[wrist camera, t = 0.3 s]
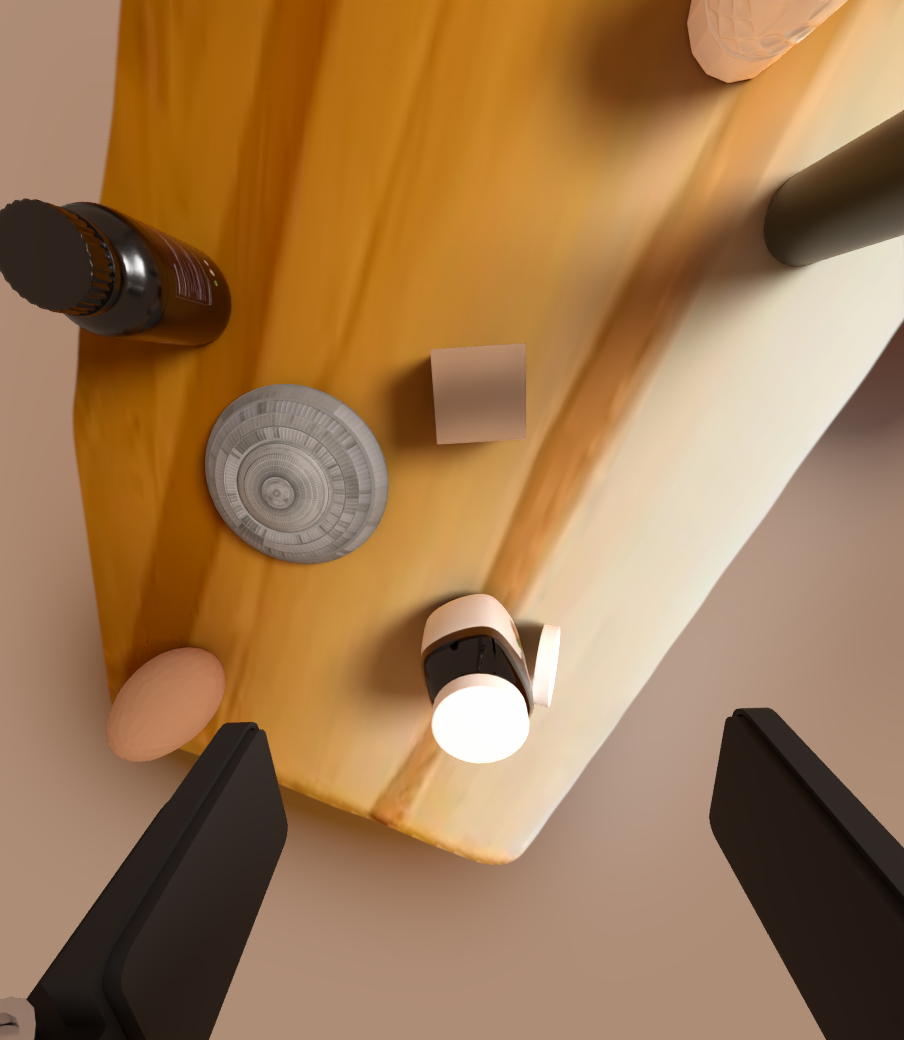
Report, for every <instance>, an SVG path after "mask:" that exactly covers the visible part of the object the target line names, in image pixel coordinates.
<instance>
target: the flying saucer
mask: <svg viewBox="0 0 904 1040" xmlns="http://www.w3.org/2000/svg"><path fill="white" fill-rule="evenodd" d="M205 473H206V480H207V485H208V489H209V492H210V495H211V498H212V500H213V502H214V504H215V506H216V508H217V510H218V512H219V514H220V515H221V517H222V518H223V520H224V521H225V522H226V524H227V525H228V526H229V527H230V528H231V529H232V531H233V532H234V533H235V534H236V535H237V536H239V537H240V538H241V539H242V540H243V541H245V542H246V543H247V544H249V545H250V546H251V547H253V548H255V549H256V550H258V551H260V552H262V553H264V554H266V555H268V556H271V557H273V558H276V559H279V560H283V561H287V562H292V563H301V564H315V563H324V562H328V561H332V560H336V559H338V558H341V557H343V556H345V555H347V554H349V553H351V552H353V551H354V550H356V549H357V548H358V547H360V546H361V545H362V544H363V543H364V542H365V541H366V540H367V539H368V538H369V537H370V536H371V535H372V534H373V532H374V531H375V529H376V528H377V526H378V524H379V523H380V521H381V518H382V516H383V514H384V511H385V507H386V503H387V498H388V487H389V486H388V472H387V467H386V462H385V459H384V456H383V453H382V450H381V448H380V446H379V444H378V442H377V440H376V438H375V436H374V435H373V433H372V432H371V430H370V429H369V427H368V426H367V425H366V423H365V422H364V421H363V420H362V419H361V418H360V417H359V416H358V415H357V414H356V413H355V412H354V411H353V410H352V409H351V408H349V407H348V406H347V405H346V404H344V403H343V402H341V401H340V400H338V399H336V398H335V397H333V396H331V395H329V394H327V393H325V392H322V391H320V390H317V389H314V388H310V387H306V386H301V385H293V384H279V385H271V386H266V387H262V388H258V389H255V390H253V391H251V392H248V393H246V394H244V395H243V396H241V397H240V398H238V399H237V400H235V401H234V402H233V403H232V404H231V405H229V406H228V407H227V408H226V409H225V411H224V412H223V413H222V414H221V416H220V417H219V418H218V420H217V421H216V423H215V425H214V427H213V429H212V431H211V434H210V437H209V440H208V444H207V449H206V455H205Z"/></svg>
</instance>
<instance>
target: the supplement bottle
mask: <svg viewBox="0 0 904 1040" xmlns="http://www.w3.org/2000/svg"><path fill="white" fill-rule="evenodd" d="M0 271H1V272H2V274H3V276H4V278H5V280H6V281H7V282H8V283H9V284H10V285H11V287H12V289H13V290H15V291H17V292H18V293H19V295H20V296H21V297H23V298H25V299H27V300H28V301H29V302H30V303H31V304H34V305H37V306H38V307H40V308H42V309H47V310H50V311H53V312H58V313H64V314H65V315H66V316H67V317H68V318H69V319H70V320H72V321H73V322H74V323H76V324H77V325H79V326H80V327H82V328H84V329H85V330H87V331H89V332H92V333H94V334H96V335H100V336H103V337H107V338H113V339H121V340H131V341H142V342H152V343H163V344H174V345H186V346H197V345H203V344H206V343H209V342H211V341H213V340H214V339H216V338H217V337H218V336H219V335H220V334H221V333H222V332H223V331H224V329H225V328H226V326H227V324H228V321H229V318H230V314H231V295H230V291H229V287H228V284H227V282H226V280H225V278H224V276H223V274H222V272H221V271H220V269H219V268H218V267H217V265H216V264H215V263H214V262H213V261H212V260H211V259H210V258H209V257H208V256H207V255H206V254H204V253H203V252H201V251H200V250H198V249H196V248H195V247H193V246H191V245H189V244H187V243H185V242H183V241H181V240H178V239H176V238H174V237H172V236H170V235H168V234H166V233H164V232H162V231H160V230H157V229H155V228H153V227H151V226H149V225H147V224H145V223H143V222H141V221H138V220H136V219H134V218H132V217H130V216H128V215H126V214H124V213H122V212H119V211H117V210H115V209H112V208H110V207H107V206H104V205H102V204H97V203H92V202H76V203H70V204H66V205H64V206H62V207H59V206H55V205H52V204H50V203H45V202H42V201H40V200H36V199H35V200H30V199H23V200H21V201H20V200H15V201H14V202H13V203H12V204H7V205H6V207H5V208H4V209H1V210H0Z"/></svg>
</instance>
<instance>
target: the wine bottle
mask: <svg viewBox="0 0 904 1040" xmlns="http://www.w3.org/2000/svg"><path fill="white" fill-rule="evenodd" d="M901 235H904V110H903V111H902V112H900V113H898V114H897V115H895V116H893V117H891V118H890V119H888V120H886V121H885V122H883V123H881V124H880V125H878V126H876V127H875V128H873V129H871V130H870V131H868V132H866V133H865V134H863V135H861V136H860V137H858V138H856V139H855V140H853V141H851V142H849V143H848V144H846V145H844V146H843V147H841V148H839V149H838V150H836V151H834V152H833V153H831V154H829V155H828V156H826V157H824V158H823V159H821V160H819V161H818V162H816V163H814V164H813V165H811V166H809V167H807V168H806V169H804V170H802V171H801V172H799V173H797V174H796V175H794V176H793V177H792V178H790V179H789V180H788V181H787V182H786V183H785V184H784V185H783V186H782V187H781V188H780V189H779V191H778V192H777V193H776V195H775V197H774V198H773V200H772V202H771V204H770V206H769V209H768V212H767V215H766V220H765V239H766V243H767V246H768V248H769V250H770V252H771V253H772V254H773V256H774V257H775V258H776V259H778V260H779V261H781V262H782V263H785V264H787V265H792V266H803V265H808V264H812V263H815V262H818V261H821V260H824V259H828V258H831V257H834V256H837V255H840V254H844V253H847V252H850V251H853V250H856V249H860V248H863V247H866V246H869V245H872V244H876V243H879V242H882V241H885V240H888V239H892V238H895V237H898V236H901Z"/></svg>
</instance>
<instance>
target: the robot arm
mask: <svg viewBox="0 0 904 1040" xmlns="http://www.w3.org/2000/svg"><path fill="white" fill-rule="evenodd" d="M709 819H710V825H711V829H712V831H713V834H714V836H715V838H716V840H717V842H718V844H719V846H720V848H721V849H722V851H723V853H724V855H725V857H726V859H727V860H728V862H729V864H730V866H731V868H732V869H733V871H734V873H735V875H736V877H737V879H738V880H739V882H740V884H741V886H742V888H743V889H744V891H745V893H746V895H747V897H748V899H749V900H750V902H751V904H752V906H753V907H754V909H755V911H756V913H757V915H758V917H759V918H760V920H761V922H762V924H763V926H764V928H765V929H766V931H767V933H768V934H769V937H770V938H771V940H772V942H773V944H774V946H775V948H776V949H777V951H778V953H779V955H780V957H781V958H782V960H783V962H784V964H785V966H786V968H787V969H788V971H789V973H790V975H791V977H792V978H793V980H794V982H795V984H796V986H797V988H798V989H799V991H800V993H801V995H802V997H803V998H804V1000H805V1002H806V1004H807V1006H808V1008H809V1009H810V1011H811V1013H812V1015H813V1017H814V1018H815V1020H816V1022H817V1024H818V1026H819V1028H820V1029H821V1031H822V1033H823V1035H824V1037H825V1038H826V1040H904V848H903V847H902V846H901V845H900V844H899V842H898V841H897V840H896V839H895V838H894V837H893V836H892V835H891V834H890V833H889V832H888V831H887V830H886V829H885V828H884V826H883V825H881V823H880V822H879V821H878V820H877V819H876V818H875V817H874V816H873V815H872V814H871V813H870V812H869V811H868V809H866V807H865V806H864V805H863V804H862V803H861V802H860V801H859V800H858V799H857V798H856V797H855V796H854V795H853V794H852V793H851V791H850V790H849V789H848V788H847V787H846V786H845V785H844V784H843V783H842V782H841V781H840V780H839V779H838V778H837V777H836V776H835V775H834V774H833V773H832V771H831V770H830V769H829V768H828V767H827V766H826V765H825V764H824V763H823V762H822V761H821V760H820V759H819V758H818V757H817V755H816V754H815V753H814V752H813V751H812V750H811V749H810V748H809V747H808V746H807V745H806V744H805V743H804V742H803V741H802V740H801V738H800V737H799V736H798V735H797V734H796V733H795V732H794V731H793V730H792V729H791V728H790V727H789V726H788V725H787V724H786V722H785V721H784V720H783V719H782V718H781V717H780V716H779V715H778V714H777V713H776V712H775V711H773V710H772V709H770V708H741V709H736V710H735V711H734V712H733V715H732V717H728V718H727V719H726V721H725V726H724V732H723V738H722V744H721V749H720V755H719V762H718V767H717V773H716V778H715V784H714V790H713V796H712V802H711V808H710V815H709ZM287 827H288V824H287V819H286V815H285V810H284V806H283V802H282V798H281V794H280V790H279V786H278V781H277V777H276V773H275V769H274V765H273V761H272V757H271V753H270V749H269V744H268V740H267V736H266V733H265V731H264V730H259V728H258V725H257V724H256V723H255V722H240V723H226V724H224V725H223V726H222V727H221V728H220V729H219V730H218V732H217V733H216V735H215V736H214V737H213V739H212V740H211V742H210V743H209V745H208V746H207V747H206V749H205V750H204V752H203V753H202V754H201V756H200V758H199V759H198V760H197V762H196V763H195V764H194V766H193V767H192V769H191V770H190V772H189V773H188V775H187V776H186V777H185V779H184V780H183V782H182V783H181V784H180V786H179V787H178V789H177V790H176V792H175V793H174V794H173V796H172V797H171V799H170V800H169V801H168V802H167V803H166V804H165V805H164V807H163V808H162V809H161V810H160V811H159V813H158V814H157V815H156V817H155V818H154V820H153V821H152V823H151V824H150V825H149V827H148V828H147V829H146V831H145V832H144V834H143V835H142V837H141V838H140V839H139V841H138V842H137V844H136V845H135V847H134V848H133V849H132V851H131V852H130V854H129V855H128V856H127V858H126V859H125V861H124V862H123V863H122V865H121V866H120V868H119V869H118V871H117V872H116V873H115V875H114V876H113V878H112V879H111V880H110V882H109V883H108V885H107V886H106V887H105V889H104V890H103V892H102V893H101V894H100V896H99V898H98V899H97V900H96V902H95V903H94V904H93V906H92V907H91V909H90V910H89V911H88V913H87V914H86V916H85V917H84V919H83V920H82V921H81V923H80V924H79V926H78V927H77V928H76V930H75V931H74V933H73V934H72V935H71V937H70V938H69V940H68V941H67V943H66V944H65V945H64V947H63V948H62V950H61V951H60V952H59V954H58V955H57V957H56V958H55V959H54V961H53V962H52V964H51V965H50V967H49V968H48V969H47V971H46V972H45V974H44V975H43V976H42V978H41V979H40V981H39V982H38V984H37V985H36V987H35V988H34V990H33V991H32V992H31V993H30V995H29V996H28V998H27V999H22V998H15V997H9V998H5V999H1V1000H0V1040H209V1038H210V1035H211V1033H212V1030H213V1027H214V1025H215V1023H216V1020H217V1017H218V1015H219V1012H220V1010H221V1007H222V1004H223V1002H224V999H225V997H226V994H227V992H228V989H229V986H230V984H231V981H232V979H233V976H234V973H235V970H236V968H237V966H238V963H239V961H240V958H241V955H242V953H243V950H244V948H245V945H246V942H247V939H248V937H249V935H250V932H251V930H252V927H253V924H254V922H255V919H256V916H257V914H258V911H259V909H260V906H261V904H262V901H263V899H264V896H265V893H266V891H267V888H268V886H269V883H270V880H271V878H272V875H273V872H274V870H275V867H276V865H277V862H278V860H279V857H280V855H281V852H282V849H283V847H284V844H285V841H286V837H287V830H288V828H287Z"/></svg>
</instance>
